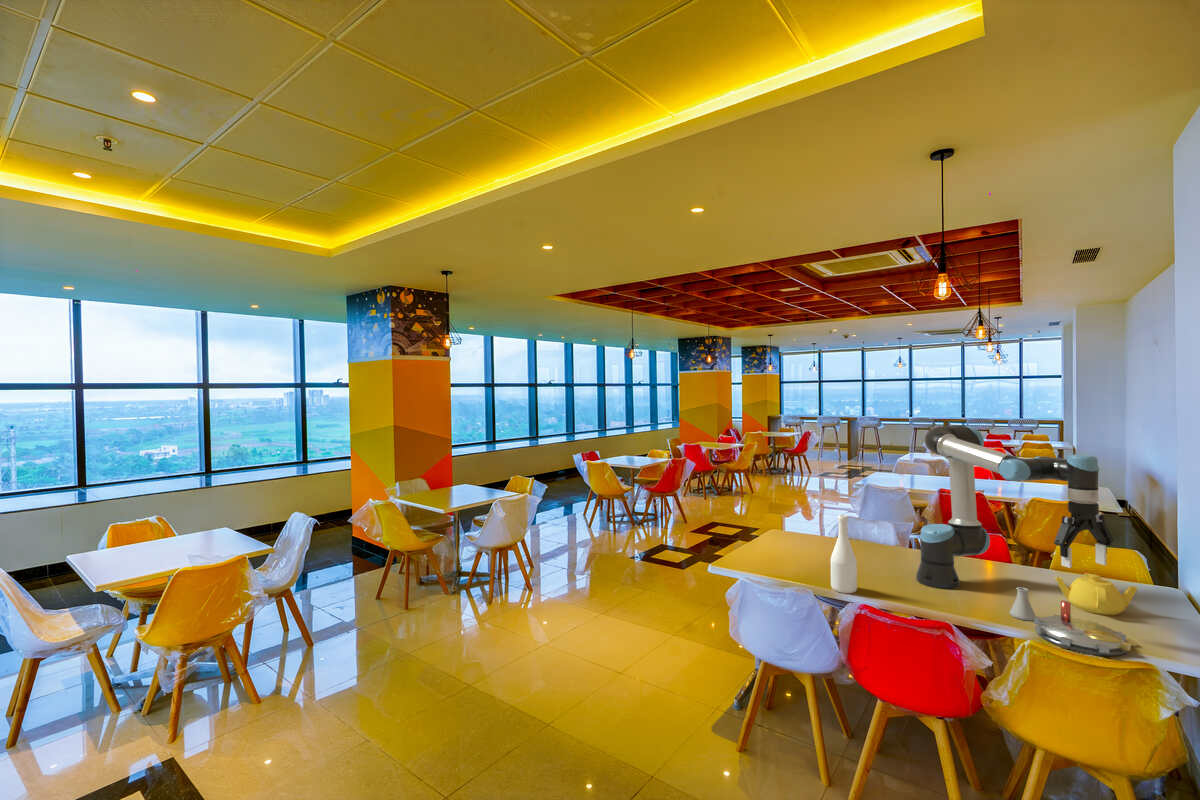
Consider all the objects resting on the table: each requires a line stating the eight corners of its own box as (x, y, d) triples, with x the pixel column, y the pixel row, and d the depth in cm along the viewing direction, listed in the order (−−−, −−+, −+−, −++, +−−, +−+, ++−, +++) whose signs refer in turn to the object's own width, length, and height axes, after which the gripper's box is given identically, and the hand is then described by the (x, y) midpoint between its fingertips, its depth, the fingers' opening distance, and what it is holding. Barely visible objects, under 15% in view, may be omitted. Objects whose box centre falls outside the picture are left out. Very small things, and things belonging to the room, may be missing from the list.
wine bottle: (860, 589, 211) (859, 515, 211) (852, 596, 204) (851, 519, 204) (835, 583, 218) (834, 511, 218) (827, 590, 211) (826, 515, 211)
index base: (1060, 652, 158) (1060, 648, 158) (1022, 622, 178) (1022, 619, 178) (1160, 661, 152) (1160, 657, 152) (1109, 629, 173) (1109, 625, 172)
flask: (1004, 613, 186) (1004, 585, 186) (1023, 612, 187) (1022, 584, 187) (1022, 622, 179) (1022, 593, 179) (1041, 620, 180) (1041, 592, 180)
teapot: (1104, 620, 180) (1103, 585, 180) (1052, 601, 196) (1051, 569, 196) (1139, 614, 184) (1139, 580, 184) (1085, 597, 200) (1085, 565, 200)
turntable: (1058, 649, 157) (1058, 622, 157) (1018, 617, 180) (1018, 594, 179) (1151, 657, 152) (1151, 630, 152) (1098, 623, 174) (1098, 599, 174)
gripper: (1062, 505, 168) (1063, 571, 168) (1127, 501, 172) (1128, 566, 172) (1039, 501, 175) (1040, 564, 175) (1102, 497, 179) (1102, 559, 179)
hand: (1083, 565), depth 174 cm, fingers open, 13 cm apart
